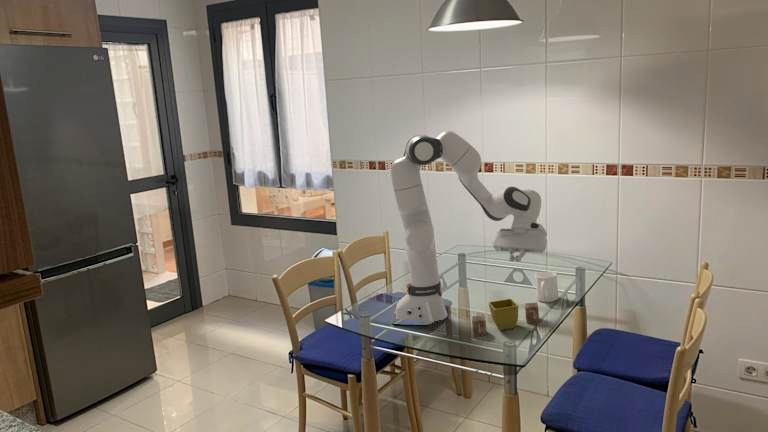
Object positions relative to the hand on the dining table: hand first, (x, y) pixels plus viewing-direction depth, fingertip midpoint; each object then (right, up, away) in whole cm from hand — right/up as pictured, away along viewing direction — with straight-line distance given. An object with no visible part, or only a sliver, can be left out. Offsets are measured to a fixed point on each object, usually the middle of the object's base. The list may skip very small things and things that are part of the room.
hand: (514, 260), depth 217 cm
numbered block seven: (+6, -22, -3) cm, 23 cm away
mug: (+16, -17, +15) cm, 28 cm away
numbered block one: (-14, -25, -9) cm, 30 cm away
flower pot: (-5, -24, -6) cm, 25 cm away
